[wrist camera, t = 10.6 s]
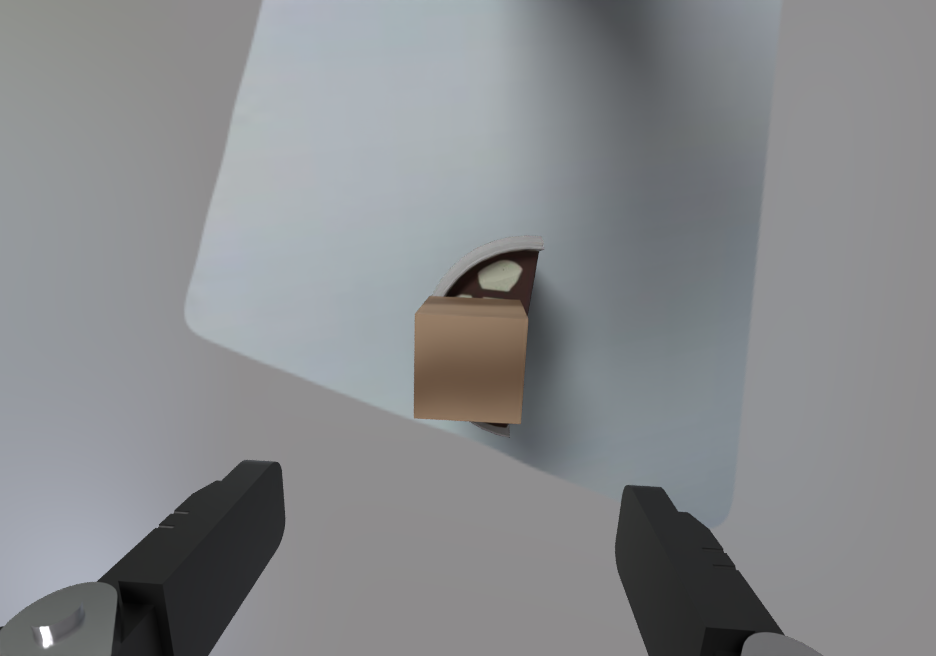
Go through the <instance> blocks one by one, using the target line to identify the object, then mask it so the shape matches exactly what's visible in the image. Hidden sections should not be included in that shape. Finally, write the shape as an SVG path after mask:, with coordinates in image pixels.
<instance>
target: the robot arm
mask: <svg viewBox="0 0 936 656" xmlns="http://www.w3.org/2000/svg"><path fill="white" fill-rule="evenodd" d="M284 528H285V507H284V493H283V479H282V469H281V466H280V464H279V463H278V462H270V461H255V460H244V461H242V462H241V463H240V464H238V466H236V467H235V468H234V469H233V470H232V471H231V472H230V473H229V474H228V475H227V476H226V477H225V478H224V479H223V480H222V481H215V482H213V483H211V484H210V485H208V486H206V487H204V488H202V489H200V490H199V491H197V492H195V493H193V494H192V495H191V496H190V497H189V498H187V499H186V500H185V501H184V502H183V503H182V504H181V505H180V506H179V507H178V508H177V509H176V510H175V511H174V514H170V515H169V516H168V517H167V518H166V519H165V520H164V521H162V522H161V523H160V524H159V527H158V528H155V529H154V530H153V531H151V532H150V533H149V534H148V535H147V536H146V537H145V538H144V539H143V540H142V541H141V542H140V543H138V544H137V545H136V546H135V547H134V548H133V549H132V550H131V551H130V552H129V553H127V554H126V555H125V556H124V557H123V558H122V559H121V560H120V561H119V562H118V563H117V564H115V565H114V566H113V567H112V568H111V569H110V570H109V571H108V572H107V573H106V574H105V575H103V576H102V577H101V578H100V579H99V580H98V581H97V582H87V583H81V584H76V585H73V586H69V587H66V588H63V589H61V590H58V591H56V592H53V593H51V594H49V595H47V596H45V597H43V598H41V599H39V600H37V601H36V602H34V603H32V604H31V605H29V606H28V607H26V608H25V609H23V610H22V611H21V612H19V613H18V614H17V615H15V616H14V617H13V618H12V619H11V620H10V621H9V622H8V623H7V624H6V625H5V626H3V627H0V656H208V655H209V653H210V652H211V650H212V649H213V647H214V646H215V644H216V642H217V641H218V639H219V638H220V636H221V635H222V633H223V632H224V630H225V629H226V627H227V626H228V624H229V623H230V621H231V620H232V618H233V616H234V615H235V613H236V612H237V610H238V609H239V607H240V606H241V604H242V602H243V601H244V599H245V598H246V596H247V595H248V593H249V592H250V590H251V589H252V587H253V586H254V584H255V582H256V581H257V579H258V578H259V576H260V575H261V573H262V572H263V570H264V569H265V567H266V566H267V564H268V562H269V561H270V559H271V558H272V556H273V555H274V553H275V552H276V550H277V548H278V547H279V545H280V542H281V540H282V536H283V533H284ZM615 556H616V564H617V569H618V573H619V576H620V579H621V581H622V584H623V587H624V589H625V592H626V595H627V598H628V600H629V603H630V606H631V608H632V611H633V614H634V617H635V620H636V622H637V625H638V628H639V630H640V633H641V636H642V638H643V641H644V644H645V647H646V649H647V652H648V655H649V656H823V655H821V654H820V653H818V652H817V651H816V650H814V649H813V648H811V647H809V646H807V645H805V644H804V643H802V642H799V641H797V640H795V639H793V638H790V637H787V636H785V635H784V633H783V632H782V630H781V629H780V628H779V626H778V625H777V624H776V622H775V621H774V619H773V618H772V616H771V615H770V614H769V612H768V611H767V609H766V608H765V607H764V605H763V604H762V602H761V601H760V600H759V598H758V597H757V596H756V594H755V593H754V591H753V590H752V588H751V587H750V586H749V584H748V583H747V582H746V580H745V579H744V577H743V576H742V575H741V573H740V572H739V571H738V570H736V568H735V565H734V563H733V562H732V561H731V559H730V558H729V556H728V555H727V553H724V551H723V548H722V546H721V545H720V544H719V542H718V541H717V539H716V538H715V537H714V535H713V534H712V533H711V531H710V530H709V529H708V528H707V527H706V526H704V525H703V524H702V523H701V522H699V521H698V520H697V519H696V518H694V517H693V516H692V515H691V514H689V513H688V512H678V511H677V509H676V508H675V506H674V505H673V503H672V501H671V500H670V498H669V497H668V495H667V494H666V492H665V491H664V490H663V489H662V488H661V487H651V486H635V485H626V486H625V488H624V490H623V494H622V501H621V508H620V515H619V522H618V529H617V535H616V543H615Z"/></svg>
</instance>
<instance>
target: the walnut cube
mask: <svg viewBox="0 0 936 656" xmlns="http://www.w3.org/2000/svg"><path fill="white" fill-rule="evenodd" d="M527 331H528V317H527V315H526V313H525V310H524V308H523V306H522V303H521V301H520V300H509V299H487V298H465V297H442V296H429V297H428V299H427V300H426V301H425V302H424V304H423V305H422V306H421V307H420V308H419V310H418V311H417V312H416V313H415V356H414V418H418V419H436V420H454V421H473V422H491V423H509V424H521V414H522V400H523V386H524V372H525V358H526V345H527Z"/></svg>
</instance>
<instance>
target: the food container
mask: <svg viewBox="0 0 936 656" xmlns="http://www.w3.org/2000/svg"><path fill="white" fill-rule="evenodd" d="M543 244H544V242H543V239H542V237H540V236H517V237H508V238H504V239H500V240H496V241H492V242H490V243H488V244H485V245H483V246H481V247H478V248H476V249H475V250H473V251H472V252H470V253H469V254H467V255H465V256H464V257H462V258H461V259H460V260H459V261H458V262H457V263H456V264H455V265H453V266H452V267H451V268H450V269H449V271H448V272H447V273H446V274H445V275H444V277H443V278H442V279H441V280H440V282H439V284H438V285H437V287H436V289H435V291H434V292H433V294H432V296H442V297H465V298H487V299H509V300H520V301H521V303H522V306H523V308H524V310H525V313H526V315H527V316H528V310H529V305H530V299H531V294H532V288H533V283H534V277H535V272H536V266H537V260H538V254H539V251H541V250H544V247H543ZM469 422H471V423H473V424H474V425H476V426H478V427H480V428H481V429H483V430H486V431H489V432H491V433H494V434H496V435H500V436H505V437H509V438H510V431H509V423H491V422H473V421H469Z"/></svg>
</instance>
